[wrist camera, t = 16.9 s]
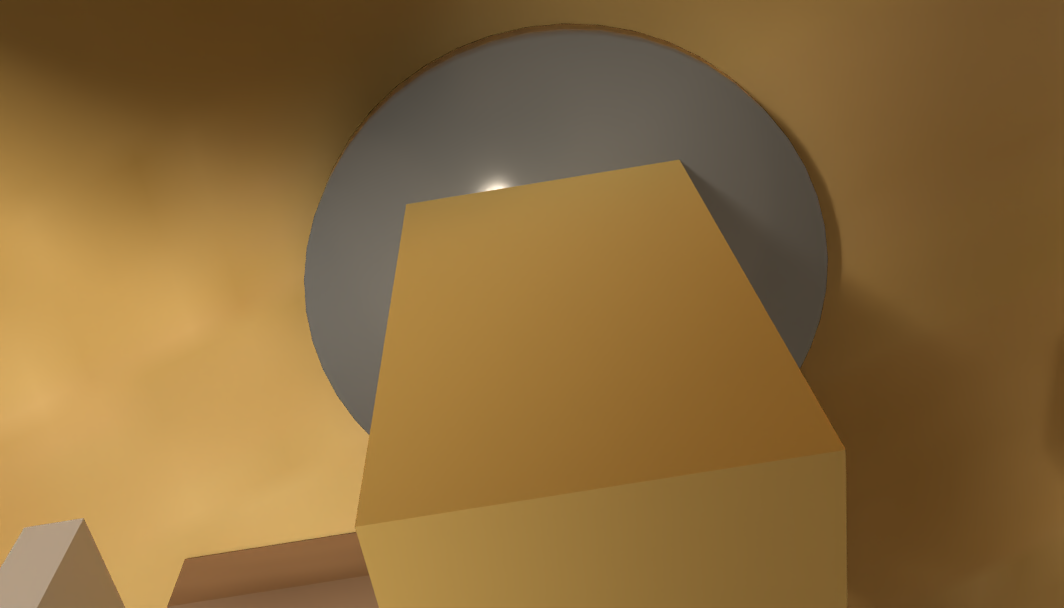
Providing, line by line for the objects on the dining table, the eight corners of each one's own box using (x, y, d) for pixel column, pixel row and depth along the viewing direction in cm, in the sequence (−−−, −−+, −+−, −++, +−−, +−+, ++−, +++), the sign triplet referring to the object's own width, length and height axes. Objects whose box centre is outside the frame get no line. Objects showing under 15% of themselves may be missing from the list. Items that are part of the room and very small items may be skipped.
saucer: (250, 73, 18) (239, 87, 17) (804, -20, 18) (822, -10, 17) (374, 511, 22) (370, 540, 22) (817, 441, 22) (831, 468, 21)
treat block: (406, 204, 18) (355, 526, 10) (679, 159, 18) (845, 449, 10) (456, 430, 20) (448, 841, 12) (700, 392, 20) (849, 780, 12)
